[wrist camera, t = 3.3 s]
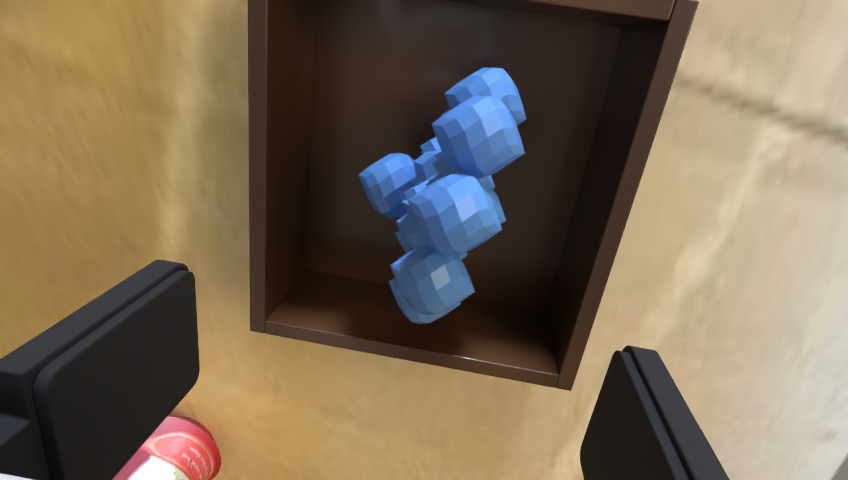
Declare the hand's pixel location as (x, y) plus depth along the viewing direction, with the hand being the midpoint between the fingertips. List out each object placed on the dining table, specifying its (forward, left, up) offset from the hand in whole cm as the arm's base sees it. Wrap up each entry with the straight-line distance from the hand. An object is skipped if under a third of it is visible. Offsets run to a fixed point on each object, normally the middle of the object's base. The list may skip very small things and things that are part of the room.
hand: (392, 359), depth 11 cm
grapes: (0, 0, -18) cm, 18 cm away
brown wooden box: (0, 0, -18) cm, 18 cm away
